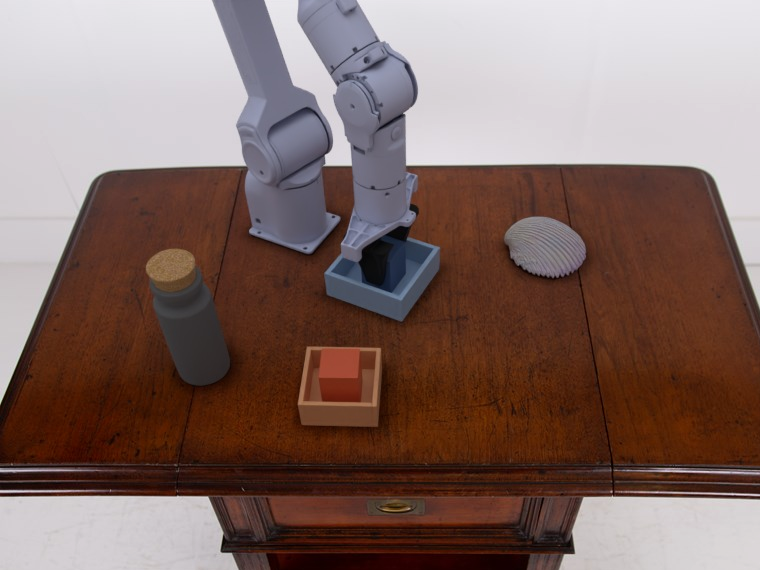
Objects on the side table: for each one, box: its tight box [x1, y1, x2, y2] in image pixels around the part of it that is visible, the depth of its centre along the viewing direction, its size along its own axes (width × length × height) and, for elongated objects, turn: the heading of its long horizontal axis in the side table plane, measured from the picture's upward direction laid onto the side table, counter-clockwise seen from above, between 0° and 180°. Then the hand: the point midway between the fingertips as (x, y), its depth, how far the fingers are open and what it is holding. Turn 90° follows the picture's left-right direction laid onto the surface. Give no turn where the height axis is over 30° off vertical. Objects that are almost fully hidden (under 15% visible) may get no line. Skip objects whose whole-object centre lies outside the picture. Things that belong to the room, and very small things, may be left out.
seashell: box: [503, 216, 587, 279], centre depth 94 cm, size 10×6×10 cm
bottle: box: [145, 248, 231, 387], centre depth 79 cm, size 6×6×15 cm
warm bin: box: [297, 346, 383, 428], centre depth 80 cm, size 8×8×4 cm
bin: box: [323, 236, 441, 323], centre depth 91 cm, size 10×10×4 cm
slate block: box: [361, 235, 406, 293], centre depth 90 cm, size 4×4×5 cm
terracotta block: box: [318, 348, 363, 403], centre depth 79 cm, size 4×4×5 cm
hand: (383, 270), depth 91 cm, fingers closed on slate block, 4 cm apart
